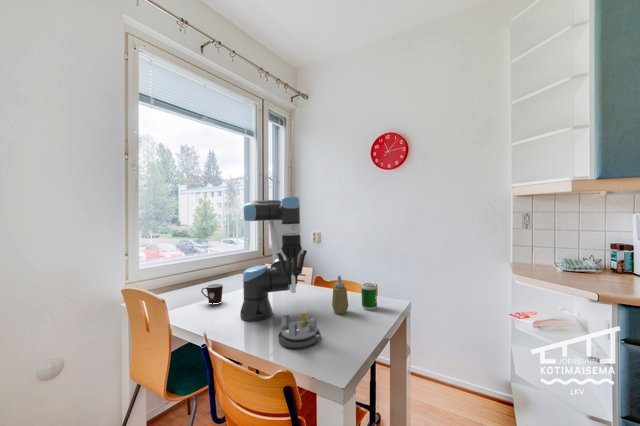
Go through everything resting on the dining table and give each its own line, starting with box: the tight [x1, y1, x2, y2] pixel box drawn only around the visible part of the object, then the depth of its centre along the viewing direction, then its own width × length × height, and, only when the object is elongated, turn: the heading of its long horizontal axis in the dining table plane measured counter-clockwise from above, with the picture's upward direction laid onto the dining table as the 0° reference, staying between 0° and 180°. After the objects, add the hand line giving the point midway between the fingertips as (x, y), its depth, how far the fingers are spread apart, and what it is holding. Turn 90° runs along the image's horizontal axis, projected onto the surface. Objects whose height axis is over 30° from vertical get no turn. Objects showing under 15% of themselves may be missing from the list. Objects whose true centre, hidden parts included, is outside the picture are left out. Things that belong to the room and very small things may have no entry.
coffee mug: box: [201, 283, 224, 304], centre depth 148 cm, size 12×9×10 cm
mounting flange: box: [278, 328, 321, 351], centre depth 102 cm, size 16×16×2 cm
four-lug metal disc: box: [281, 310, 318, 342], centre depth 102 cm, size 14×14×6 cm
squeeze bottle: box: [331, 274, 349, 315], centre depth 128 cm, size 8×8×18 cm
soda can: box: [360, 282, 378, 311], centre depth 132 cm, size 8×8×12 cm
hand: (292, 291), depth 107 cm, fingers closed
